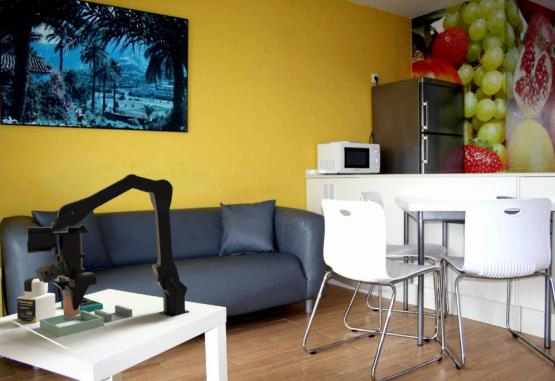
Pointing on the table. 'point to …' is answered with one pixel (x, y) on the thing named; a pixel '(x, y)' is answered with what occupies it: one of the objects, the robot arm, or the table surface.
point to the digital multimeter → (88, 305)
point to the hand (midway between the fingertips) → (71, 308)
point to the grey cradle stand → (115, 314)
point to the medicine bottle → (35, 302)
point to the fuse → (69, 307)
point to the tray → (91, 323)
